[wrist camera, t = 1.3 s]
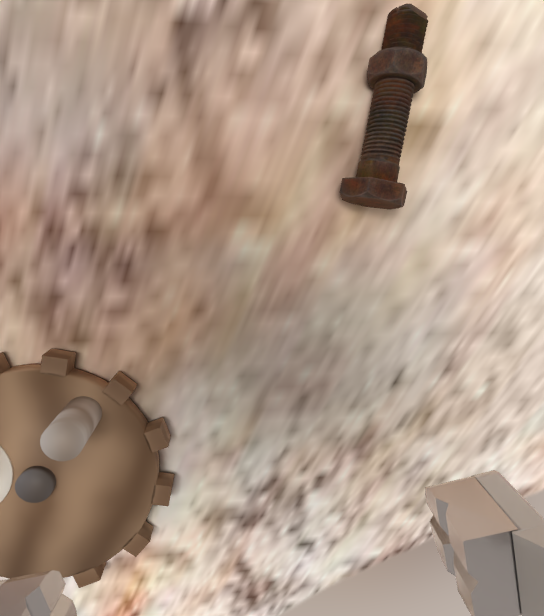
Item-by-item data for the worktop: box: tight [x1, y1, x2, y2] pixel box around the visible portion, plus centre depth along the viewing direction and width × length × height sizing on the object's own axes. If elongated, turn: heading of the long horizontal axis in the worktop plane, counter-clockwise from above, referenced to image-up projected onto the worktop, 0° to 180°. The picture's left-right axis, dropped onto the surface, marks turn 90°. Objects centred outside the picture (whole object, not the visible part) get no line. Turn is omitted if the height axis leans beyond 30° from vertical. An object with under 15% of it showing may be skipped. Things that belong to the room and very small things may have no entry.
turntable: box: [0, 349, 174, 588], centre depth 34 cm, size 23×23×7 cm
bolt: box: [340, 4, 428, 209], centre depth 34 cm, size 6×5×15 cm
